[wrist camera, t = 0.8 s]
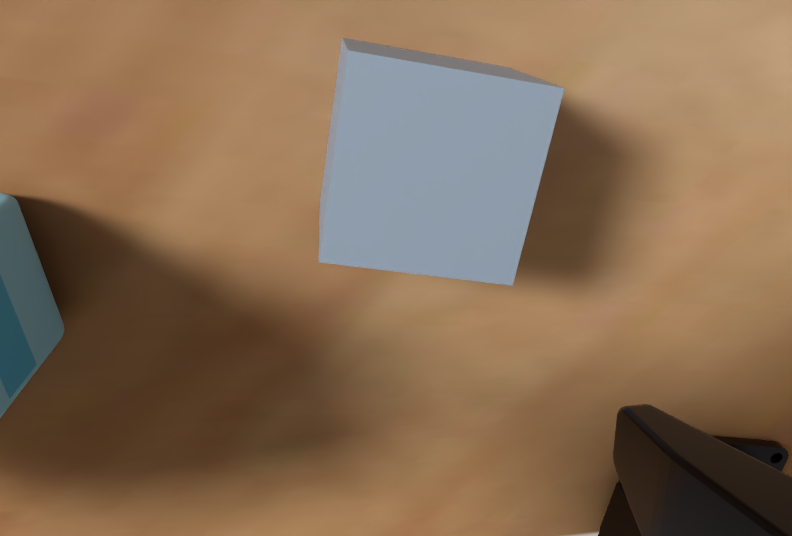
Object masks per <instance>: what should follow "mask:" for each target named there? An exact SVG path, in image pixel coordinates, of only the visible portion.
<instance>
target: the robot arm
mask: <svg viewBox="0 0 792 536" xmlns="http://www.w3.org/2000/svg"><path fill="white" fill-rule="evenodd" d="M613 459H614V465H615V469H616V472H617V474H618V477H619V481H618V483H617V484H616V487H615V490H614V492H613V495H612V497H611V500H610V503H609V505H608V508H607V511H606V513H605V516H604V519H603V521H602V524H601V527H600V532H599V535H598V536H792V477H791V476H789V475H787V474H785V473H783V472H781V471H782V469H783V467H784V465H785V463H786V461H787V459H788V451H787V450H786V449H784V448H783V447H782V446H781V445H780V444H779V443H778V442H773V441H761V440H750V439H738V438H726V437H714V436H710V435H708V434H706V433H704V432H702V431H700V430H698V429H696V428H694V427H692V426H690V425H688V424H686V423H684V422H683V421H681V420H679V419H677V418H675V417H673V416H671V415H669V414H667V413H665V412H663V411H661V410H659V409H657V408H655V407H653V406H651V405H647V404H643V405H632V406H624V407H622V408H621V409H620V410H619V412H618V414H617V421H616V431H615V440H614V450H613Z"/></svg>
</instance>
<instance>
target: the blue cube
mask: <svg viewBox="0 0 792 536" xmlns="http://www.w3.org/2000/svg"><path fill="white" fill-rule="evenodd" d="M563 92H564V88H563V87H560V86H557V85H554V84H552V83H549V82H546V81H544V80H541V79H538V78H536V77H533V76H530V75H527V74H525V73H522V72H519V71H517V70H514V69H511V68H509V67H504V66H498V65H493V64H487V63H481V62H476V61H470V60H464V59H459V58H453V57H448V56H442V55H436V54H431V53H425V52H420V51H414V50H408V49H403V48H397V47H391V46H386V45H380V44H375V43H369V42H363V41H358V40H352V39H346V38H342V42H341V50H340V57H339V65H338V72H337V80H336V87H335V95H334V102H333V110H332V117H331V124H330V132H329V139H328V147H327V154H326V162H325V169H324V177H323V184H322V192H321V199H320V226H319V262H321V263H329V264H337V265H346V266H354V267H362V268H370V269H379V270H387V271H395V272H404V273H412V274H420V275H429V276H437V277H445V278H453V279H462V280H470V281H478V282H487V283H495V284H503V285H512V286H513V282H514V279H515V275H516V271H517V267H518V263H519V260H520V256H521V252H522V248H523V244H524V240H525V237H526V233H527V229H528V225H529V221H530V218H531V214H532V210H533V206H534V202H535V199H536V195H537V191H538V187H539V183H540V180H541V176H542V172H543V168H544V164H545V161H546V157H547V153H548V149H549V145H550V142H551V138H552V134H553V130H554V126H555V122H556V119H557V115H558V111H559V107H560V103H561V100H562V96H563Z"/></svg>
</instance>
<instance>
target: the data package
mask: <svg viewBox="0 0 792 536" xmlns="http://www.w3.org/2000/svg"><path fill="white" fill-rule="evenodd" d="M63 334H64V324H63V321H62V319H61V316H60V313H59V311H58V308H57V305H56V303H55V300H54V297H53V295H52V292H51V289H50V286H49V284H48V281H47V278H46V276H45V273H44V270H43V268H42V265H41V262H40V260H39V257H38V254H37V252H36V249H35V246H34V244H33V241H32V238H31V236H30V233H29V230H28V228H27V225H26V222H25V220H24V217H23V214H22V212H21V209H20V206H19V204H18V201H17V200H16V199H15V198H14V197H12V196H11V195H8V194H3V193H0V418H1V417H2V415H3V414H4V413H5V411H6V410H7V409H8V407H9V406H10V405H11V404H12V402H13V401H14V400H15V398H16V397H17V396H18V394H19V393H20V392H21V391H22V389H23V388H24V387H25V385H26V384H27V383H28V381H29V380H30V379H31V378H32V376H33V375H34V374H35V372H36V371H37V370H38V368H39V367H40V366H41V365H42V363H43V362H44V361H45V359H46V358H47V357H48V355H49V354H50V353H51V352H52V350H53V349H54V348H55V346H56V345H57V344H58V342H59V341H60V340H61V338H62V336H63Z"/></svg>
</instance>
